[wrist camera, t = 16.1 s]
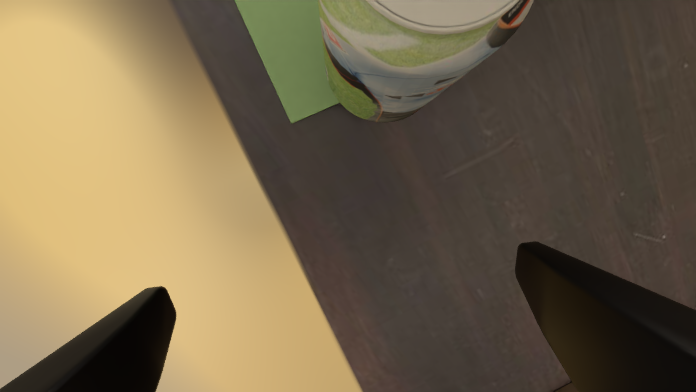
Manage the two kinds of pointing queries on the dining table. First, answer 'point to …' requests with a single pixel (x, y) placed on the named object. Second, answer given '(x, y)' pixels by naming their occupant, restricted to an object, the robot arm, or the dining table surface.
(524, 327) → the dining table surface
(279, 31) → the green mat
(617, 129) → the dining table surface
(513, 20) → the beverage can
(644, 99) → the dining table surface
